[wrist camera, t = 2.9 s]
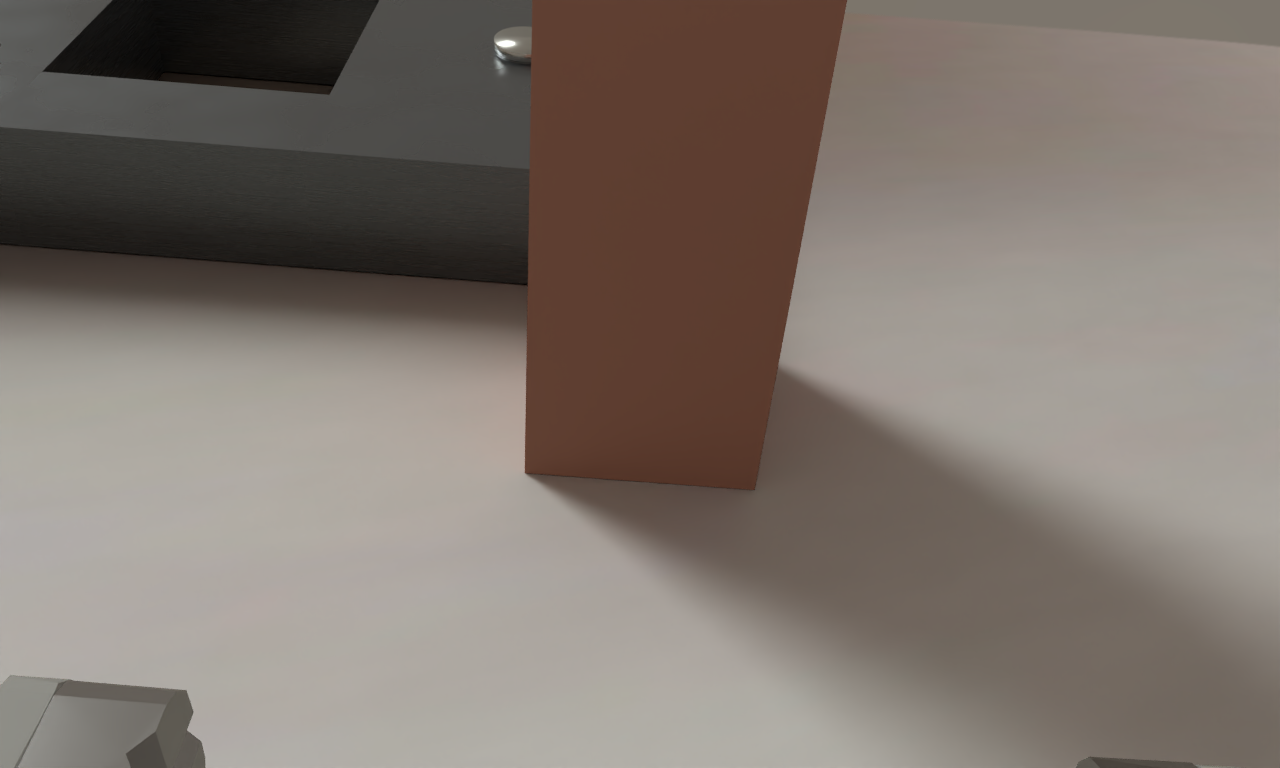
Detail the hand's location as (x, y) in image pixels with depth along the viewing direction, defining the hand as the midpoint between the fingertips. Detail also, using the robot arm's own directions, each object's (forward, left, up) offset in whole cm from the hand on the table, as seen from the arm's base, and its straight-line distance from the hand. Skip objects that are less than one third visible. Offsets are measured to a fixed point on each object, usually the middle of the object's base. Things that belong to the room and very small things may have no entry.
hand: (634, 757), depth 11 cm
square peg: (0, -12, -6) cm, 14 cm away
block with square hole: (+11, -22, -6) cm, 25 cm away
